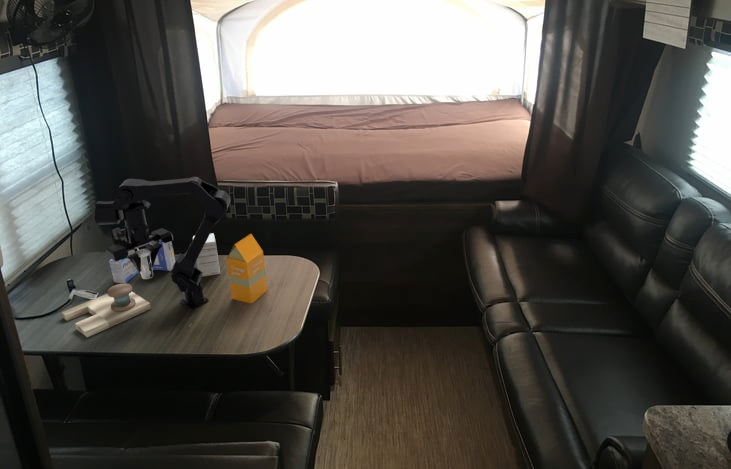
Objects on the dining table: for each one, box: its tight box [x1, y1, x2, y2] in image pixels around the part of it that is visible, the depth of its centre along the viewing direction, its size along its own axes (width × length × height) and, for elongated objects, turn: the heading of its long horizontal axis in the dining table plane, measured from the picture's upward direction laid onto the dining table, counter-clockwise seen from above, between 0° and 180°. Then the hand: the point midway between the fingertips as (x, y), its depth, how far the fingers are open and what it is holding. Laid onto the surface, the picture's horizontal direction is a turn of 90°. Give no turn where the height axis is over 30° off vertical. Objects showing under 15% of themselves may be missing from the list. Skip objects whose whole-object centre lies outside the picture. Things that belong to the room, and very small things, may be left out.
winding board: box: [61, 291, 152, 338], centre depth 173 cm, size 16×20×2 cm
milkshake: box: [135, 247, 154, 280], centre depth 171 cm, size 4×5×10 cm
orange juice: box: [226, 233, 268, 304], centre depth 178 cm, size 8×9×20 cm
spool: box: [106, 283, 136, 312], centre depth 172 cm, size 7×7×6 cm
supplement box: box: [192, 232, 221, 277], centre depth 194 cm, size 7×7×13 cm
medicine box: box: [108, 258, 139, 284], centre depth 192 cm, size 8×4×9 cm, turn 168°
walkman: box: [152, 240, 176, 272], centre depth 197 cm, size 8×3×12 cm, turn 81°
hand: (145, 269), depth 172 cm, fingers closed on milkshake, 4 cm apart
